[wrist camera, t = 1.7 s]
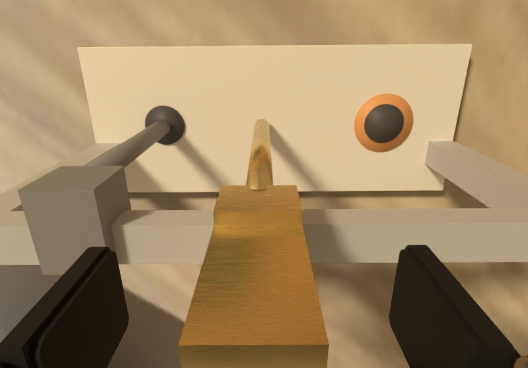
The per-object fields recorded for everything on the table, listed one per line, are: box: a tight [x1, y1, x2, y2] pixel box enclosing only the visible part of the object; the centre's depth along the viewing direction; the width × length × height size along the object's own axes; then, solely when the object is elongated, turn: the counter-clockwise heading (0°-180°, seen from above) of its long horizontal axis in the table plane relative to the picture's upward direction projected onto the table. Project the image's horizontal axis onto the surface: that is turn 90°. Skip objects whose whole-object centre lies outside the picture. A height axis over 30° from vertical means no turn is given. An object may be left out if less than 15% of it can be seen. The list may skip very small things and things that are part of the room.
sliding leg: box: [179, 119, 329, 368], centre depth 17 cm, size 4×3×22 cm
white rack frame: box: [0, 44, 528, 275], centre depth 21 cm, size 12×30×17 cm, turn 90°
